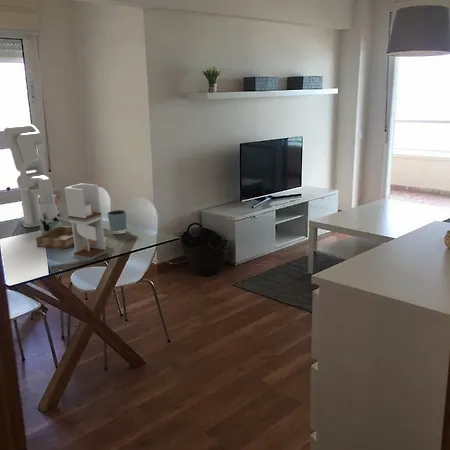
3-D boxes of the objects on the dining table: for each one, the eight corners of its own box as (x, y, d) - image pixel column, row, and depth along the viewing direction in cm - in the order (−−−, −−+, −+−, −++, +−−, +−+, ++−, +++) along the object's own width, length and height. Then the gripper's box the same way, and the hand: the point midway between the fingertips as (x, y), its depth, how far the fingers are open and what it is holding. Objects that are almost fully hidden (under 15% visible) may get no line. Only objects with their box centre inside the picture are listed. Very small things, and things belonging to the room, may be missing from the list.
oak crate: (37, 247, 272) (35, 238, 270) (60, 234, 292) (59, 226, 290) (66, 248, 267) (65, 239, 265) (88, 235, 287) (87, 227, 285)
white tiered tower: (74, 256, 255) (64, 187, 245) (89, 249, 264) (80, 183, 253) (90, 259, 249) (81, 189, 239) (106, 252, 258) (97, 184, 248)
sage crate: (41, 234, 294) (39, 224, 292) (48, 230, 300) (46, 221, 298) (56, 235, 291) (55, 224, 289) (62, 231, 297) (61, 221, 295)
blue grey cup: (123, 235, 284) (121, 214, 281) (106, 235, 286) (104, 214, 283) (130, 230, 294) (128, 209, 290) (114, 229, 296) (111, 209, 292)
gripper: (50, 196, 299) (55, 224, 303) (32, 203, 283) (37, 232, 287) (61, 196, 296) (66, 224, 301) (43, 203, 281) (48, 233, 285)
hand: (51, 228), depth 294 cm, fingers open, 9 cm apart
